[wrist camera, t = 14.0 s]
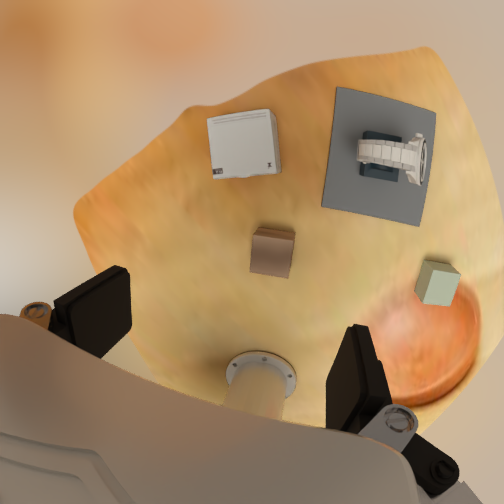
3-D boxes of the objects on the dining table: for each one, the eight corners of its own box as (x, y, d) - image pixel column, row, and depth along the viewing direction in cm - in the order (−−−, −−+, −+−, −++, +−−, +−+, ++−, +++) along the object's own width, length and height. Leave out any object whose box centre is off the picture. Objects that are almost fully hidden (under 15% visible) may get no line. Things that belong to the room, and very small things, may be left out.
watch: (404, 182, 32) (439, 193, 22) (345, 172, 33) (361, 178, 23) (408, 141, 30) (444, 136, 20) (349, 129, 31) (366, 117, 21)
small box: (276, 114, 33) (271, 107, 28) (282, 172, 35) (278, 174, 31) (218, 122, 35) (205, 117, 30) (224, 178, 37) (212, 181, 32)
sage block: (440, 294, 36) (449, 306, 32) (414, 290, 37) (422, 303, 33) (449, 264, 34) (461, 274, 30) (423, 259, 35) (433, 269, 31)
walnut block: (290, 266, 39) (288, 278, 36) (255, 261, 40) (249, 271, 36) (295, 232, 38) (293, 240, 34) (258, 227, 38) (253, 234, 35)
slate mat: (417, 225, 34) (419, 226, 33) (321, 206, 36) (321, 206, 35) (434, 113, 28) (436, 113, 27) (336, 87, 30) (337, 86, 30)
